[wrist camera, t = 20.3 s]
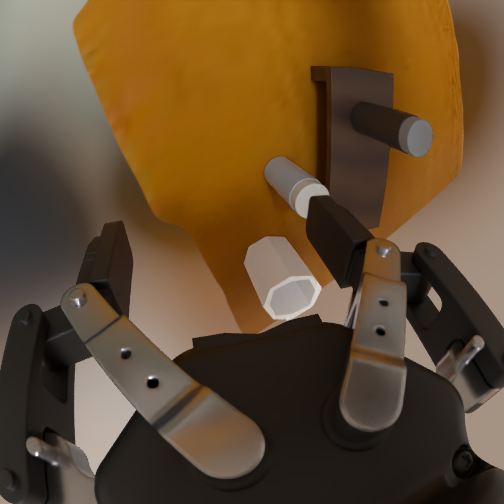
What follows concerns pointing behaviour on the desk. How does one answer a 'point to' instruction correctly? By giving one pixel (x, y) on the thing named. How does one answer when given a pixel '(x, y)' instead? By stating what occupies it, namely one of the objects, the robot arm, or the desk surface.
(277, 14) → the desk surface
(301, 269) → the mug
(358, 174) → the desk shelf
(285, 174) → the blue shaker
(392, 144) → the dark shaker
